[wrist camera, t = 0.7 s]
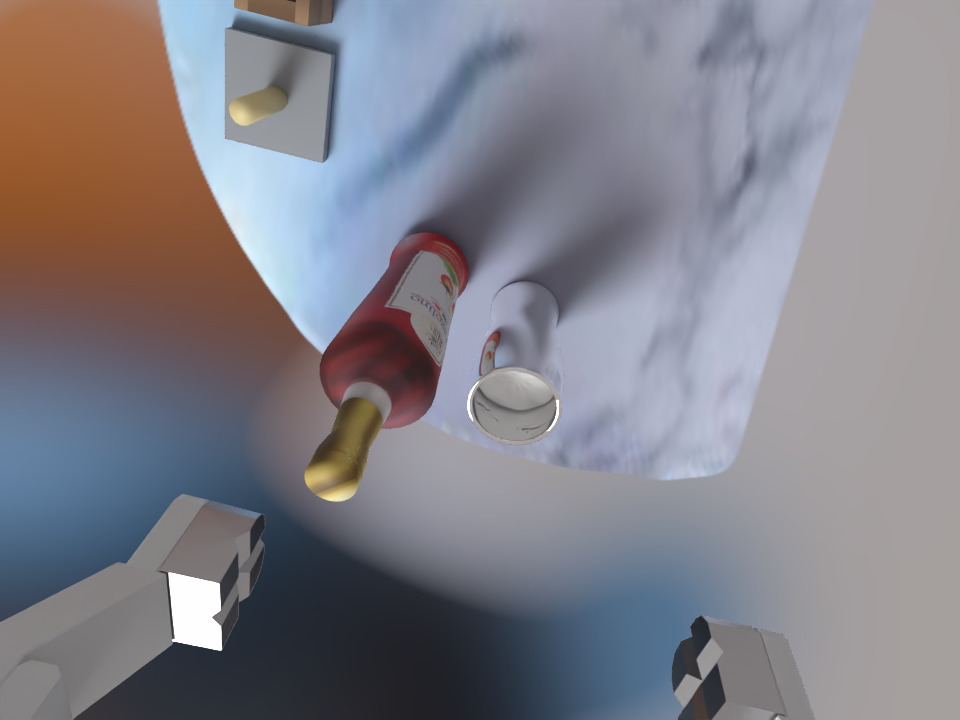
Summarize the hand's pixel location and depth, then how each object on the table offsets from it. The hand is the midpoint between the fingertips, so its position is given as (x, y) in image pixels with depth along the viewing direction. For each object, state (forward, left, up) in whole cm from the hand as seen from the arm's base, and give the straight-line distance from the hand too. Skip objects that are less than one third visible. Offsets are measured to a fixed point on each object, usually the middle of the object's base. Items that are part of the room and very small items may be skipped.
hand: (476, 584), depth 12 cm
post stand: (+2, -20, -43) cm, 47 cm away
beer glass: (+15, +3, -43) cm, 46 cm away
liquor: (+13, -6, -43) cm, 45 cm away
